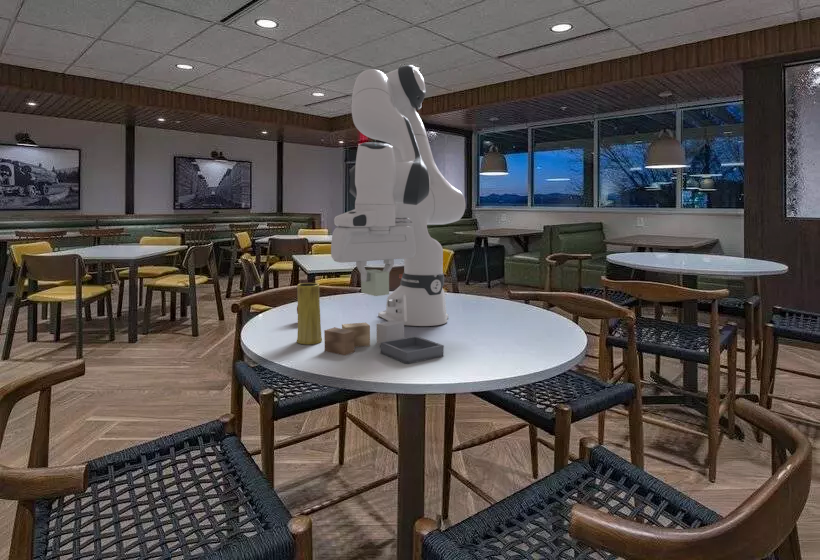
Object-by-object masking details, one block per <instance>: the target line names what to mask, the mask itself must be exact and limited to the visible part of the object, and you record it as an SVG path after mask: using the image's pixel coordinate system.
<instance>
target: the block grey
mask: <svg viewBox="0 0 820 560" xmlns="http://www.w3.org/2000/svg"><path fill="white" fill-rule="evenodd" d="M402 338H405V325H404V322H401V321H396V320H392V321H388V320H386V321H383V322H379V323H376V344H377V345H380V342H385V341H391V340H397V339H402Z"/></svg>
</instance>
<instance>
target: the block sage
mask: <svg viewBox="0 0 820 560" xmlns="http://www.w3.org/2000/svg"><path fill="white" fill-rule="evenodd" d="M366 271H367V273H370V274H371V277H370V278H371V280H370V281H368V282H363V281H361V280H360V285H361V286H360V288H361V289H360V290H361V293H363V294H366V295H370V296H373V297H379V296H389V295H390V272H387V271H383V270H380V269H376V268H375V269H373V268H372V269H366Z"/></svg>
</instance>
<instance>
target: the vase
mask: <svg viewBox="0 0 820 560" xmlns="http://www.w3.org/2000/svg"><path fill="white" fill-rule="evenodd" d="M296 289H297V290H296V291H297V306H298V314H297V338H296V342H297V343H298V344H300V345H304V346H305V345H316V344H319V343H321V342H322V341H323V339H322V327H321V324H322V323H321V304H320V303H321V302H320V284H319V283H316V282H302V283H298V284H297V286H296Z"/></svg>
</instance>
